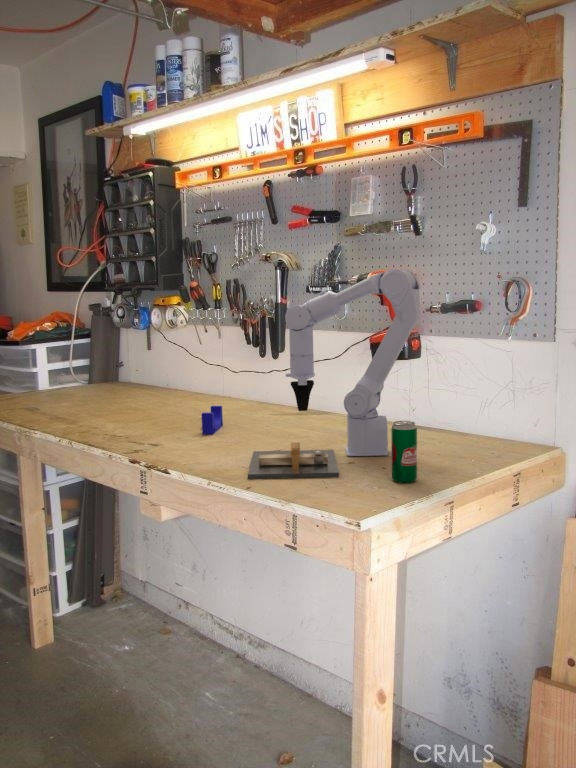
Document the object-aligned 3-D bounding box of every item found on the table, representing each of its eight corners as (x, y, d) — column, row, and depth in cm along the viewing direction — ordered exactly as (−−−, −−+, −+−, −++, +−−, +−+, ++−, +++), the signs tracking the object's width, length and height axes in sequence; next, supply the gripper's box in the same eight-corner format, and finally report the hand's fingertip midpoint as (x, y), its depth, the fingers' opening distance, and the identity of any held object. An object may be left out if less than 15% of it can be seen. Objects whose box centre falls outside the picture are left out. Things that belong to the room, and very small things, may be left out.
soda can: (404, 485, 135) (404, 426, 133) (386, 480, 139) (386, 422, 138) (422, 481, 138) (422, 422, 136) (404, 475, 142) (404, 419, 140)
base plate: (333, 453, 162) (333, 431, 161) (339, 477, 142) (338, 451, 142) (253, 455, 162) (252, 432, 162) (247, 479, 143) (247, 453, 142)
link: (327, 460, 151) (327, 452, 151) (327, 464, 148) (327, 457, 148) (259, 461, 152) (259, 454, 151) (258, 465, 148) (258, 458, 148)
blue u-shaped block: (207, 426, 199) (206, 405, 198) (222, 426, 199) (222, 405, 198) (197, 435, 187) (196, 413, 186) (213, 435, 187) (212, 413, 186)
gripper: (285, 352, 173) (286, 405, 175) (284, 358, 158) (286, 416, 160) (313, 352, 172) (314, 405, 174) (315, 358, 158) (316, 415, 160)
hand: (302, 410), depth 167 cm, fingers closed
